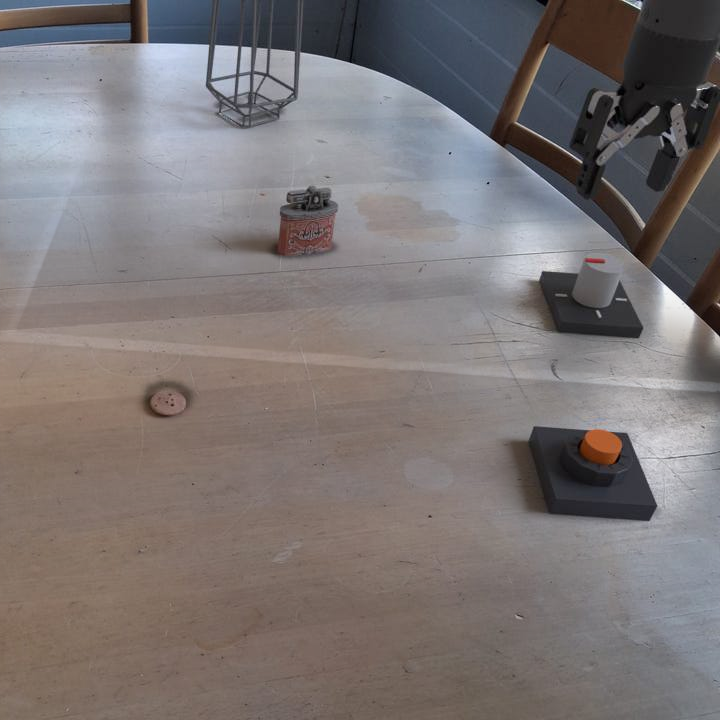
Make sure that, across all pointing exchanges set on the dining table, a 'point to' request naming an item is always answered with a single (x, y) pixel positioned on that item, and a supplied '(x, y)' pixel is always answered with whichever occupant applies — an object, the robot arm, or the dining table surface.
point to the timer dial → (597, 280)
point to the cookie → (168, 403)
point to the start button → (600, 447)
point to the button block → (589, 478)
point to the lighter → (307, 222)
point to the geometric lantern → (253, 65)
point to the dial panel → (588, 309)
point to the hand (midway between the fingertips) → (620, 192)
